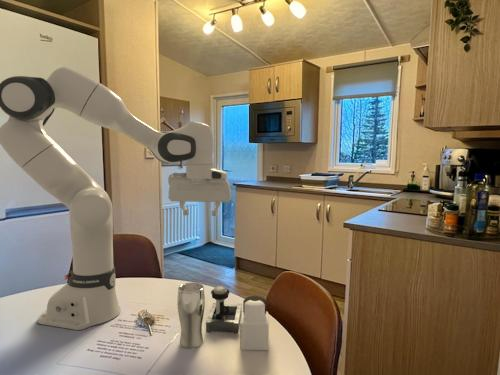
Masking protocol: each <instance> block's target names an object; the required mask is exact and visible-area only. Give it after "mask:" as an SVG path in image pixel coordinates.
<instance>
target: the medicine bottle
mask: <svg viewBox="0 0 500 375" xmlns="http://www.w3.org/2000/svg"><path fill="white" fill-rule="evenodd" d="M242 305H243V306H242V309H243V310H242V313H241V320H240V326H239V333H240V334H239V336H240V337H239V339H240V340H239V343H240V344H239V349H240V350H241V351H265V352H266V351H269V342H270V340H269V339H270V338H269V336H270V334H269V333H270V331H269V330H270V329H269V328H270V326H269V324H270V323H269V322H270V321H269V312H268V311H267V299H265V298H264V297H262V296H258V295H250V296H248V297H246V298H245V299H244V300H243V302H242Z"/></svg>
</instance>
